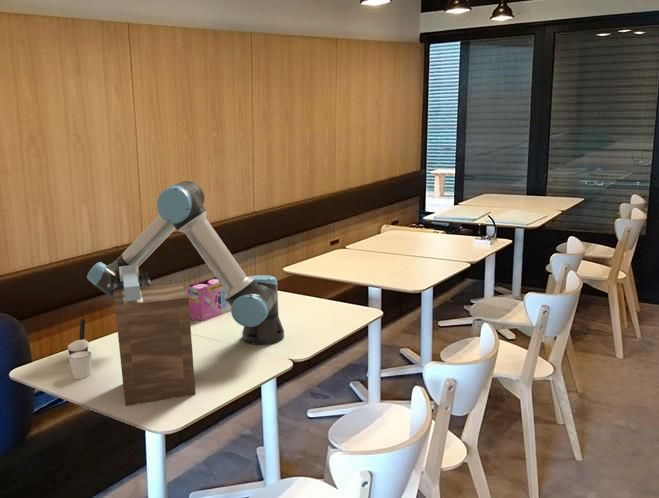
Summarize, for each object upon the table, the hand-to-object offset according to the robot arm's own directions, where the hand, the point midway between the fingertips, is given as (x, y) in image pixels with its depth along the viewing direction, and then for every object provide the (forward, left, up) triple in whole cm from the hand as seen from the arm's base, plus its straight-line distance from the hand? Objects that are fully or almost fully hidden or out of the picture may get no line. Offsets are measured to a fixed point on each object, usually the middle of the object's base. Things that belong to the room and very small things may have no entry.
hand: (128, 270), depth 197 cm
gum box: (-34, -57, -36) cm, 76 cm away
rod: (0, +4, -5) cm, 6 cm away
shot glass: (+17, -11, -36) cm, 41 cm away
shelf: (-5, +9, -36) cm, 37 cm away
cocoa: (+18, -27, -36) cm, 49 cm away
